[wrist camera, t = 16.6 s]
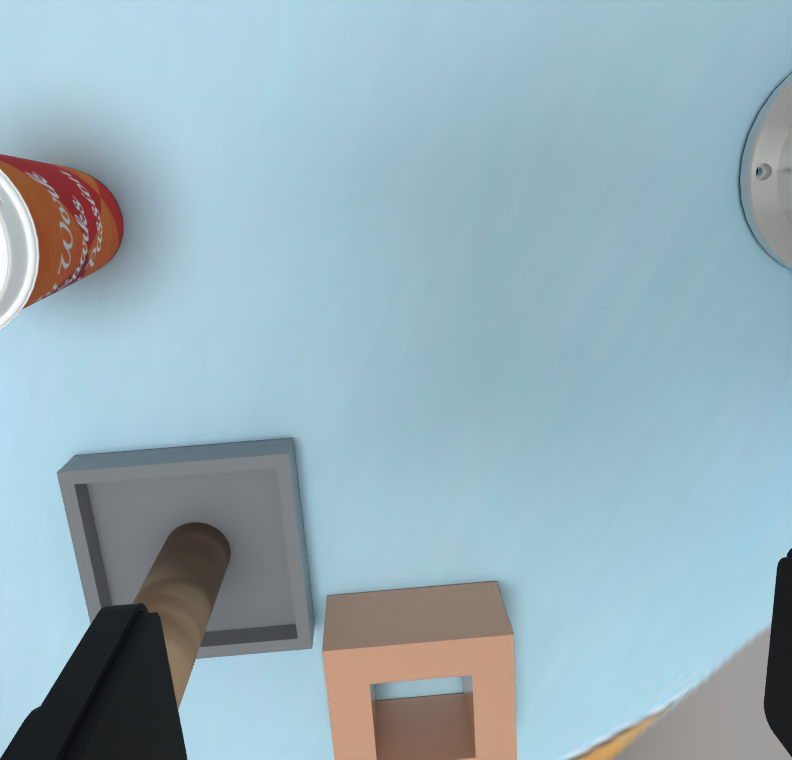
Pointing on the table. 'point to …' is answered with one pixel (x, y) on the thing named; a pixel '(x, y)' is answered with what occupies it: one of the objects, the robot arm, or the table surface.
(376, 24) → the table surface
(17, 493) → the table surface
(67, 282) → the paper cup
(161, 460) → the tray
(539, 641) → the table surface
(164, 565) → the dowel pin
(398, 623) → the well block
